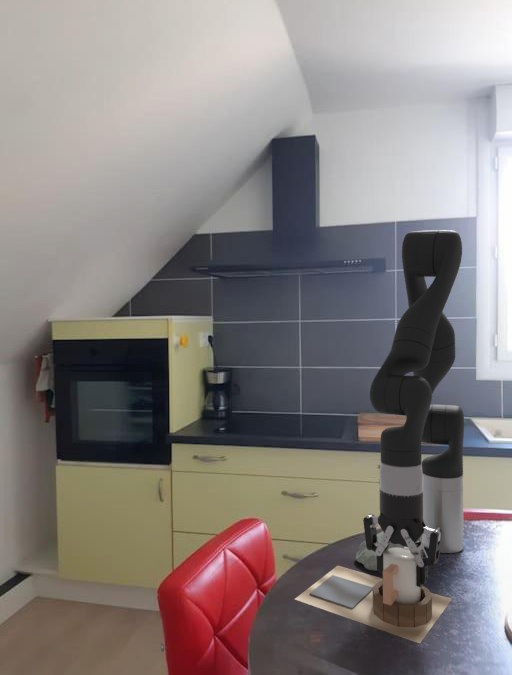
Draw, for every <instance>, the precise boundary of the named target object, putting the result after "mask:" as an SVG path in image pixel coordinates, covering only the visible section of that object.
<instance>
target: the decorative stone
mask: <svg viewBox="0 0 512 675" xmlns="http://www.w3.org/2000/svg"><path fill="white" fill-rule="evenodd" d="M383 535H384V532H383V530H381V531H380V532H379V533H377V540H378V543H379V542H380V540H381V539H382V537H383ZM404 547H405V546H402V545H400V544H393V543H390V545H389V547H388V549H390V548H404ZM355 560H356V562H358V563H359V564H362V565H363V567H364V568H365V569H366V570H368V571H377V555H376V553H375V552H374V551H372V550H368V549H367V547H366V539H365V540H363V541H362V542H361V543H360V545H359V548H358V551H357V552H356V554H355ZM377 572H378V571H377Z"/></svg>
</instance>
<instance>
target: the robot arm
mask: <svg viewBox="0 0 512 675" xmlns="http://www.w3.org/2000/svg"><path fill="white" fill-rule="evenodd" d="M462 257H463V241H462V237H461V236H460V234H459V232H457V231H455V230H450V229H449V230H448V229H442V230H441V229H439V230H438V229H436V230H435V229H434V230H412V231H408V232H406V234H405V235H404V238H403V241H402V246H401V258H402V259H401V261H402V262H401V263H402V268H403V269H402V271H403V276H404V282H405V289H406V296H407V304H408V308H407V309H406V310H405V311H404V312H403V314H402V316H401V318H400V319H399V321H398V323H397V327H396V329H395V334H394V338H393V342H392V344H391V349H390V352H389V353H388V355H387V357H386V358H385V360H384V361H383V363H382V365H381V366H380V368H379V369H378V371H377V373H376V374H375V376H374V378H373V380H372V382H371V385H370V390H369V401H370V404H371V406H372V408H373V409H374V410H375V411H376V412H378V413H381V414H385V415H396V416H405V417H406V419H405V422H404V424H403V425H401V426H392V427H386V428H384V429H383V430H382V431H381V434H380V466H379V468H380V469H379V478H378V486H379V515H375V514H374V513H369V514H368V515H366V516H365V517H364V518H363V520H362V521H363V530H364V538H365V540H366V547H367V549H368V550H372V551H374V552H375V553H376V555H377V572H378V573H379V576H380V577H383V552H384V551H385V550H387V549H388V547H389V545H390V543H393V544H400V545H402V546H405V547H408V548H409V550H410V552H411V554H412V555H413V556H414V558H415V560H416V562H417V564H418V565H417V566H416V585H417V586H418V587H422V586H424V585H425V584H426V583H427V582H428V580H429V575H428V574H429V572H428V570H429V567H428V566H430V567H433V566H434V565H435V564H436V563H438V561H439V559H440V554H454V553H455V554H456V553H459V552H461V551H463V550H464V464H463V463H464V459H463V456H464V454H463V452H464V435H465V434H464V432H465V415H464V414H465V413H464V411H463V409H462V408H461V406H459V405H453V404H452V405H451V404H434V403H432V400H433V394H434V391H435V390H436V389H437V387H438V386H439V384H440V383H441V382H442V380H443V379H444V378H445V377H446V376H447V374H448V373H449V371H450V369H452V367H453V365H454V362H455V360H456V334H455V330H454V327H453V325H452V323H451V321H450V320H449V318H448V317H447V316H446V314H445V313H444V312H443V311H444V309H445V307H446V304H447V302H448V299H449V296H450V294H451V292H452V290H453V286H454V284H455V281H456V279H457V276H458V272H459V270H460V267H461V263H462ZM425 277H433V278H434V279H433V281H432V283H431V284H430V286H429V287H428V285H427V283H426V278H425ZM409 373H410V374H411V373H413V375H407V374H409ZM422 443H423V444H429V445H430V444H431V445H432V444H433V445H441V446H442V445H443V446H444V445H445V446H448V448H447V449H446V450H445V451H443V452H440V453H438V454H434V455H431V456H427V457H425V458H424V459H423V460H422ZM378 525H379V527H380V530H381V531H383V532H384V535H383V537H382V539H381V540H380V542H379V543H378V540H377V534H378V533H377V532H378V531H377V527H378ZM425 548H426V549H427V550H428V551H427V552H428V553H427V552H426V550H425Z"/></svg>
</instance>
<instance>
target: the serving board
mask: <svg viewBox="0 0 512 675" xmlns="http://www.w3.org/2000/svg"><path fill="white" fill-rule="evenodd" d="M452 600H453V598H450V597H447V596H443V595H442V594H441V595H440V594H436V593H434V592H431V591H430V590H429V589H428V588H427V587H426V586H424V585H423V586H422V587H421V602H418V603H414V604H399V603H395V602H394V603H393V604H392V605H387V604H384V603H383V577H378V576H375V575H371V574H368V573H365V572H362V571H357V570H354V569H352V568H347V567H344V566H341V565H336V566H335V567H334V568H333V569H331V570H330V571H329V572H327V573H326V574H325V575H324V576H322V577H321V578H319V580H317V581H316V582H315V583H313V584H312V585H311V586H310V587H308V588H307V589H306V590H305V591H303V592H301V594H299V595H298V596H296V597H295V598H294V601H297V602H300V603H303V604H306V605H309V606H312V607H315V608H316V609H321V610H324V611H326V612H329V613H332V614H334V615H337V616H340V617H343V618H346V619H348V620H352V621H353V622H357V623H360V624H364V625H365V626H368V627H371V628H375V629H378V630H380V631H382V632H385V633H388V634H391V635H394V636H396V637H400V638H403V639H406V640H408V641H411V642H414V643H417V644H419V645H420V644H421V642H422V641H423V640H424V639H425V637H426V636H427V634H428V633H429V632H430V630H431V629H432V628H433V626H434V625H435V624H436V622H437V621H438V619H439V618H440V617H441V615H442V614H443V613H444V611H445V610H446V608H447V607H448V606H449V604H450V603H451V602H452Z"/></svg>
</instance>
